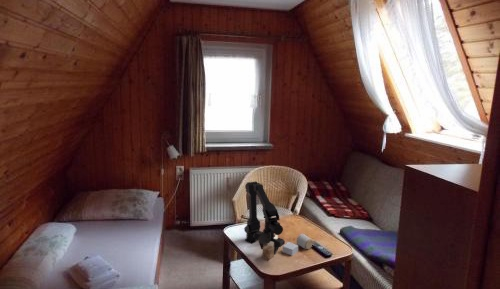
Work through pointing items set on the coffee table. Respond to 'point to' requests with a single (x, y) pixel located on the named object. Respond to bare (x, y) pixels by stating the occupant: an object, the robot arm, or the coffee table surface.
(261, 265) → the coffee table surface
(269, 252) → the walnut block
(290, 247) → the light gray block
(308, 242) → the ceramic mug
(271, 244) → the cream block
